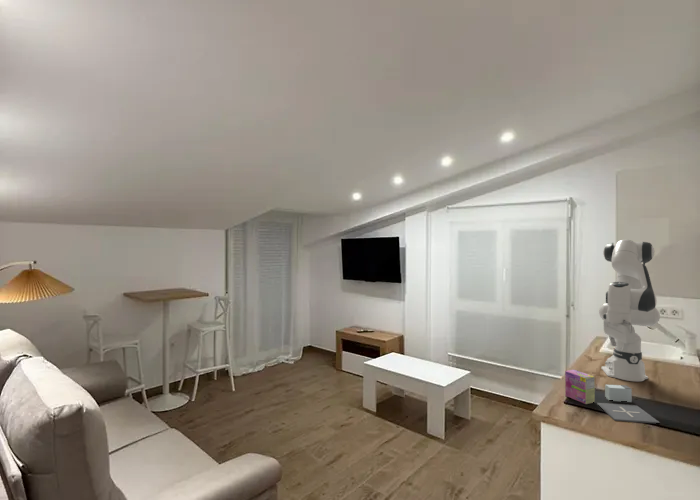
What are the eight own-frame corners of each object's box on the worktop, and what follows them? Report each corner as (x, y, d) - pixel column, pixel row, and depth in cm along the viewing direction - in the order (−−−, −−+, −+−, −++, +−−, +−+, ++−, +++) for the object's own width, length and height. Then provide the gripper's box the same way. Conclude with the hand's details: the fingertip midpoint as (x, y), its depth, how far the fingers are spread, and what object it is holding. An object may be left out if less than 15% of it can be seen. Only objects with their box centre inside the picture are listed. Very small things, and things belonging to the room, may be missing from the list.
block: (604, 397, 176) (605, 384, 176) (626, 398, 175) (626, 385, 175) (609, 400, 172) (609, 387, 172) (631, 402, 171) (631, 388, 171)
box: (564, 395, 178) (565, 370, 178) (573, 394, 180) (574, 369, 180) (585, 404, 168) (585, 377, 168) (594, 402, 170) (595, 376, 170)
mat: (596, 404, 169) (596, 402, 169) (636, 406, 166) (636, 405, 166) (614, 420, 153) (614, 418, 153) (659, 423, 150) (659, 422, 150)
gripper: (640, 323, 162) (639, 355, 162) (615, 314, 182) (615, 343, 183) (623, 322, 163) (623, 355, 164) (600, 314, 183) (600, 342, 184)
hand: (618, 348), depth 173 cm, fingers open, 8 cm apart
